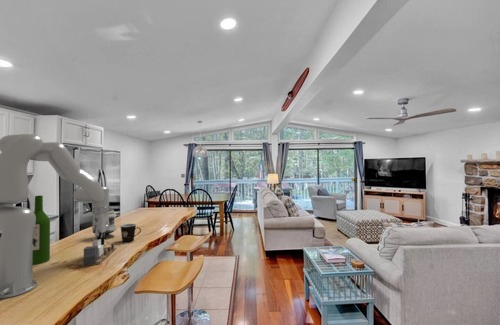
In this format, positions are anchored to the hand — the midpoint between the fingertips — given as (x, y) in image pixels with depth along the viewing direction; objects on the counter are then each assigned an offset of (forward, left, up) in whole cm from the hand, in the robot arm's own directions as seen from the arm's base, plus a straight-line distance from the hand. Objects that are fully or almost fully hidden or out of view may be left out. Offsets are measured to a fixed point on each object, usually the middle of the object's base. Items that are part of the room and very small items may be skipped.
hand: (100, 244), depth 129 cm
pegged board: (-1, 0, -6) cm, 6 cm away
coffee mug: (+23, -8, -6) cm, 25 cm away
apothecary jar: (+35, +10, -6) cm, 37 cm away
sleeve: (-5, 0, -4) cm, 6 cm away
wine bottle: (-3, +27, -6) cm, 28 cm away
